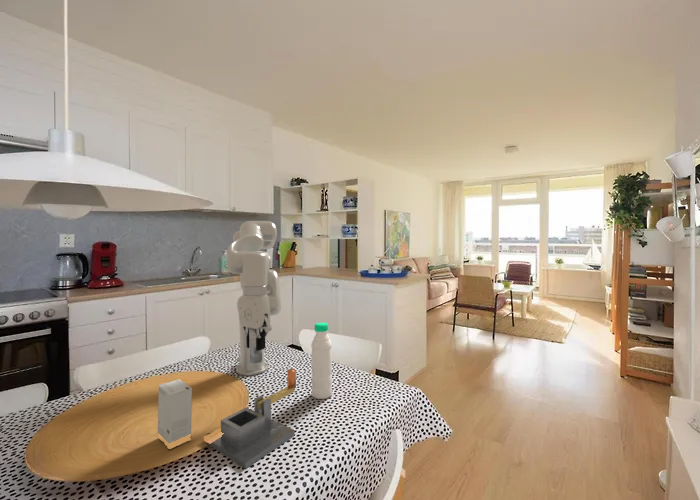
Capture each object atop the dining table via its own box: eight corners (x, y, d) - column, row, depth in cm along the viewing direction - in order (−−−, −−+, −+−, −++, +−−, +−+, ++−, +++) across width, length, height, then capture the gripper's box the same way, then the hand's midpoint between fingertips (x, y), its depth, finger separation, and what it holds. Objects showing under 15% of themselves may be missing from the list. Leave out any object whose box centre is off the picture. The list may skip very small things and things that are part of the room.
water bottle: (329, 401, 108) (328, 326, 107) (308, 399, 109) (308, 325, 108) (334, 391, 115) (333, 321, 114) (315, 389, 116) (314, 320, 115)
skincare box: (157, 438, 87) (156, 385, 87) (180, 428, 92) (179, 377, 92) (169, 452, 82) (168, 394, 82) (193, 440, 87) (192, 386, 86)
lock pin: (255, 407, 91) (255, 384, 90) (291, 388, 102) (291, 368, 102) (261, 410, 89) (261, 386, 89) (297, 391, 100) (297, 370, 100)
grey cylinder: (244, 361, 102) (244, 324, 102) (257, 357, 106) (256, 321, 106) (254, 365, 100) (254, 326, 99) (267, 360, 104) (266, 323, 103)
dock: (203, 441, 86) (202, 408, 86) (253, 415, 99) (252, 386, 99) (245, 469, 76) (244, 431, 75) (294, 435, 89) (294, 403, 88)
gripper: (229, 290, 104) (229, 346, 105) (263, 294, 95) (263, 356, 95) (248, 287, 110) (249, 340, 111) (282, 291, 101) (282, 349, 101)
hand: (256, 347), depth 103 cm, fingers closed on grey cylinder, 4 cm apart
